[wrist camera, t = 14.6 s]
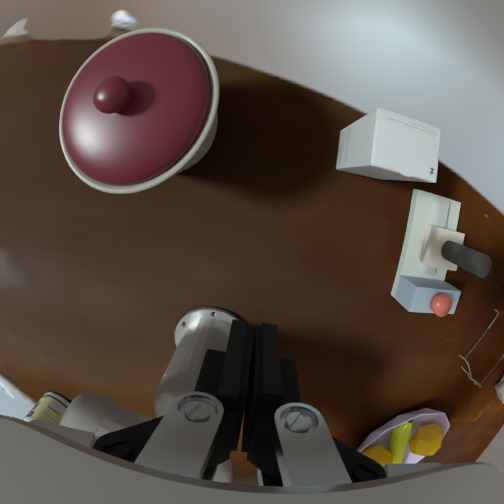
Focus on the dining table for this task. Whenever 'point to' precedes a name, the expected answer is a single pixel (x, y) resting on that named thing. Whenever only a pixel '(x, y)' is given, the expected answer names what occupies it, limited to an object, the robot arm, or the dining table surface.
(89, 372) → the dining table surface
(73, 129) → the canister
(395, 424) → the fruit bowl
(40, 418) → the supplement tub
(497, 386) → the ceramic sculpture
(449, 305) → the button
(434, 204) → the rail board
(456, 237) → the carriage
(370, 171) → the skincare box
